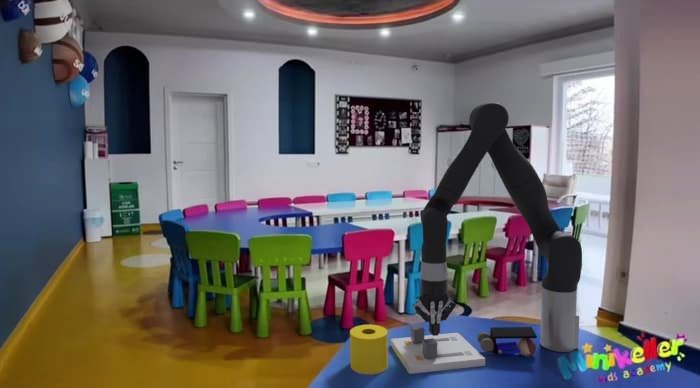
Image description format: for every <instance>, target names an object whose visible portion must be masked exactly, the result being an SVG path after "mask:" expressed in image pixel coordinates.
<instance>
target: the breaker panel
mask: <svg viewBox="0 0 700 388" xmlns="http://www.w3.org/2000/svg"><path fill="white" fill-rule="evenodd" d="M424 339H434V340H435V341H436V342H437V343H438V345H437V357H434V358H426V357H425V356H424V355H423V342H421V343H414V342H413V341H412V340H411V336H407V337H398V338H396V337H395V338H390V346H392V347H391V348H392V350H393V351H394V353H395V355H396V356H397V358H398V359H399V360H400V362H401V364H402V366H404V368H405V369H406V371H407V373H408V374H409V375H411V374H421V373H431V372H440V371H448V370H458V369H468V368H475V367H477V368H478V367H484V366H486V358H485V357H484V356H483V355H482V354H481V353H480V352H479V351H478V350H477V349H476V348H475V347H473V345H471V343H469V342H468V340H466V339H465V338H464V336H462V335H461V334H460V333H459V332H450V333H449V332H448V333H438V335H437V336H433V335H432V334H429V335H427V334H426V335H424Z"/></svg>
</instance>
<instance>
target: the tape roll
mask: <svg viewBox="0 0 700 388" xmlns="http://www.w3.org/2000/svg"><path fill="white" fill-rule="evenodd" d="M388 333H389V332H388V329H387V328H385V327H384V326H382V325H377V324H361V325H356V326H354V327H352V328H350V330H349V345H350V346H349V352H350V353H349V356H350V359H349V360H350V368H351V370H353V372H356V373H358V374H361V375H362V374H363V375H375V374H380V373H383V372H385V371H386V370H387V369H388V368H389V367H388V366H389V360H388V359H389V353H388V351H389V350H388V346H389V343H388V342H389V341H388V336H389V335H388Z"/></svg>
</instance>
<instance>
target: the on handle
mask: <svg viewBox="0 0 700 388" xmlns="http://www.w3.org/2000/svg"><path fill="white" fill-rule="evenodd" d="M422 342H423V355H424V356H425V357H426V358H434V357H437V345H438V343H437V342H436V341H435V340H434V339H422Z"/></svg>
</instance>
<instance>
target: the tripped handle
mask: <svg viewBox="0 0 700 388" xmlns="http://www.w3.org/2000/svg"><path fill="white" fill-rule="evenodd" d="M425 330H426V329H425V328H424V327H423V325H422V324H417V325H416V324H415V325H410V337H411V340H412V341H413V342H414V343H421V342H422V339H424V336H425Z"/></svg>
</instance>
